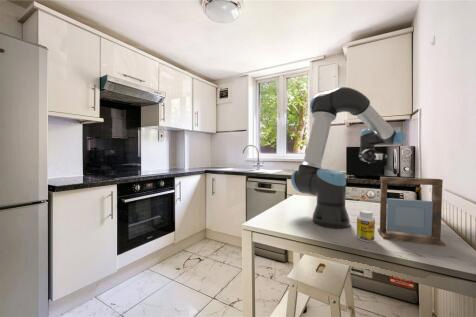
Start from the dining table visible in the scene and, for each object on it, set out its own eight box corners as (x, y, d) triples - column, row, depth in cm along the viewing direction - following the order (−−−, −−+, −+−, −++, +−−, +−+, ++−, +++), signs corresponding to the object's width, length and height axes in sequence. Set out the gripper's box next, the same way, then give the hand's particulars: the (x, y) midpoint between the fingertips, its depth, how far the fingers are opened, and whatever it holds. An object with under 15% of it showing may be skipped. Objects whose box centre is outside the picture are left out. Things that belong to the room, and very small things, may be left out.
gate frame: (382, 238, 78) (384, 178, 77) (377, 230, 85) (378, 175, 84) (445, 246, 71) (447, 180, 70) (433, 237, 79) (435, 177, 78)
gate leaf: (387, 230, 80) (388, 199, 79) (386, 229, 81) (387, 198, 81) (431, 235, 75) (432, 202, 74) (429, 234, 76) (430, 201, 76)
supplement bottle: (358, 241, 75) (359, 213, 75) (355, 235, 81) (355, 208, 80) (376, 243, 74) (377, 214, 73) (371, 237, 79) (372, 210, 78)
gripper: (384, 162, 117) (397, 165, 95) (356, 162, 122) (362, 164, 100) (384, 149, 116) (398, 148, 95) (356, 149, 122) (363, 148, 100)
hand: (379, 156), depth 97 cm, fingers closed
